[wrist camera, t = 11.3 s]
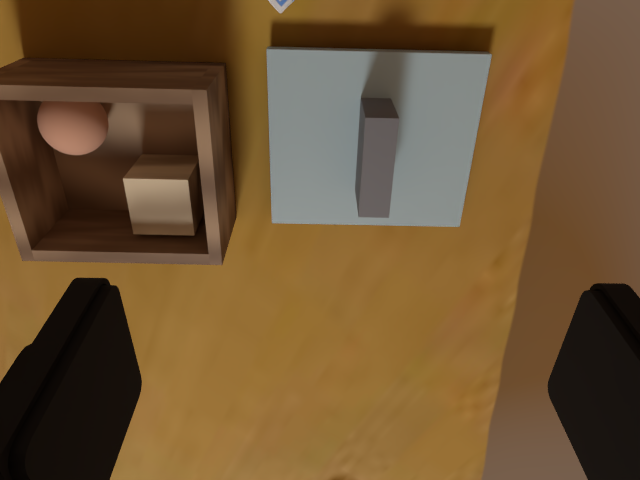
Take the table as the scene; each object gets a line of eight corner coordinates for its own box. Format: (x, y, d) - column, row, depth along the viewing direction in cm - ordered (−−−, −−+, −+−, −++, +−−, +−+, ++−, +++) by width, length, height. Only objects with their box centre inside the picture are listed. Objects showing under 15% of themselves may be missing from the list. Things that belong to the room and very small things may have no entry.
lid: (269, 43, 40) (259, 64, 34) (483, 48, 41) (513, 70, 35) (273, 211, 48) (266, 252, 42) (454, 215, 48) (473, 256, 42)
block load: (142, 154, 44) (122, 178, 40) (200, 155, 44) (187, 179, 40) (150, 206, 46) (133, 234, 42) (206, 207, 47) (194, 235, 42)
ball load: (48, 80, 41) (16, 98, 36) (111, 82, 41) (86, 100, 36) (62, 141, 43) (34, 164, 39) (122, 142, 43) (100, 165, 39)
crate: (23, 57, 41) (-37, 84, 34) (225, 63, 41) (206, 90, 34) (64, 213, 48) (22, 260, 41) (236, 217, 48) (222, 264, 41)
